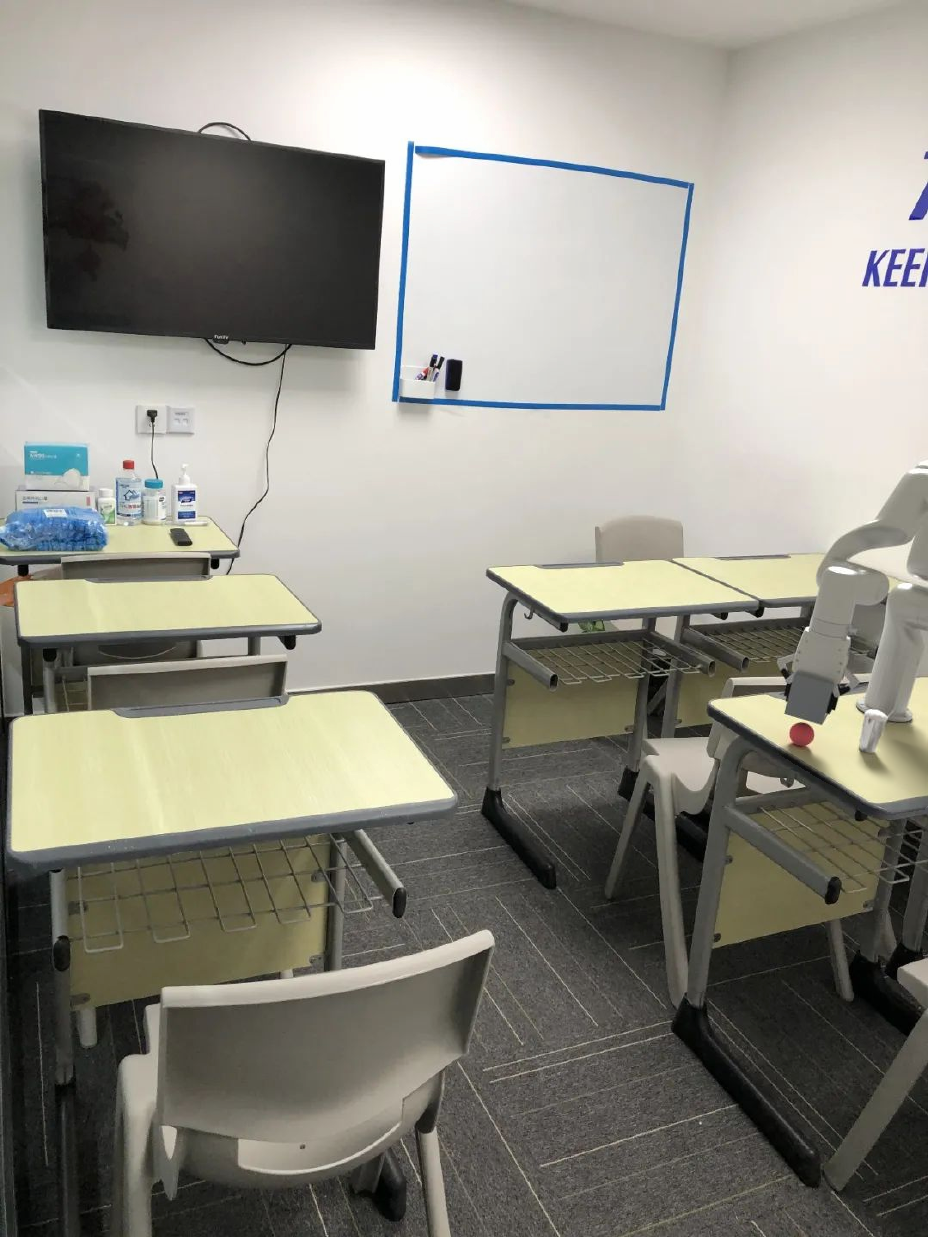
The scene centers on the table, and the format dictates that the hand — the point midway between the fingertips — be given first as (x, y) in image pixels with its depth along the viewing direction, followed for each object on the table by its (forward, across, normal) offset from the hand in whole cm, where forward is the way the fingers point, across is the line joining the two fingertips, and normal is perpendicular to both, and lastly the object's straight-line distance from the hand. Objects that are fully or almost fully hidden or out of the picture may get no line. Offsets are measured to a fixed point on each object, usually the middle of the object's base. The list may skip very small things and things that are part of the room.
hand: (808, 705), depth 196 cm
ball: (+6, 0, 0) cm, 6 cm away
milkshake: (+9, -13, -9) cm, 18 cm away
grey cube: (+2, 0, 0) cm, 2 cm away
